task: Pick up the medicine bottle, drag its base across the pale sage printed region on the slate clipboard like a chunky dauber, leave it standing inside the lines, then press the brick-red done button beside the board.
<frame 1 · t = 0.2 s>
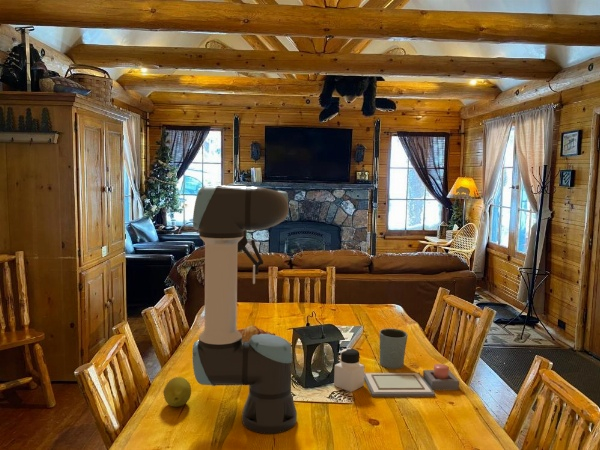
hand: (235, 282, 180), 28 cm above the table, fingers open, 13 cm apart
grey cylindrical container: (392, 365, 178), on the table
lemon: (177, 406, 142), on the table
done button: (441, 372, 161), point 4 cm above the table, slide at 0.0 cm
button housing: (440, 384, 162), on the table
picture board: (396, 385, 160), on the table
croissant: (249, 342, 199), on the table
medicine bottle: (348, 386, 159), on the table
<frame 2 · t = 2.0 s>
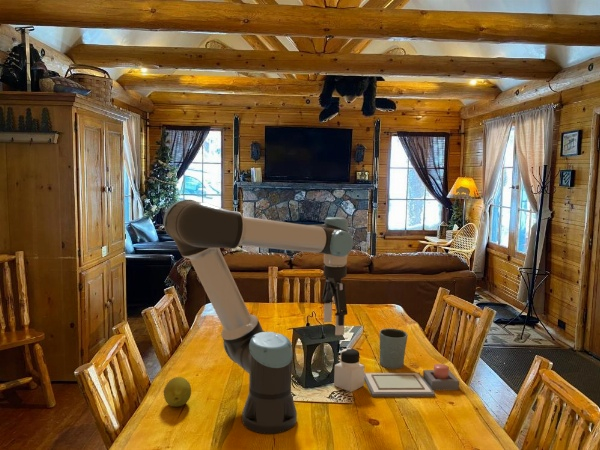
hand: (333, 328, 160), 18 cm above the table, fingers open, 13 cm apart
nothing on the table moved.
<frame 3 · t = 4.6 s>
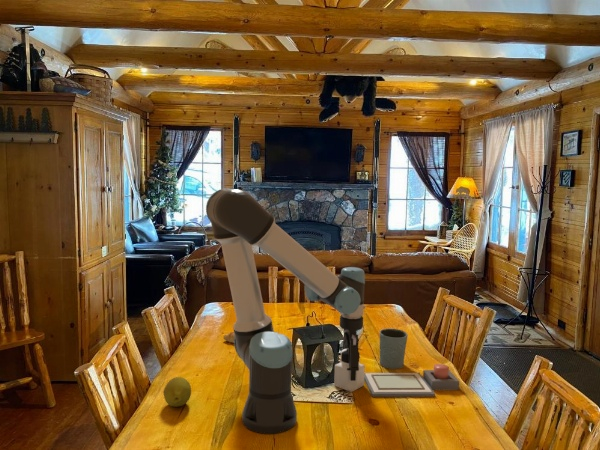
hand: (349, 382, 158), 1 cm above the table, fingers closed on medicine bottle, 10 cm apart
medicine bottle: (349, 386, 159), on the table, touching gripper
everything else where it was.
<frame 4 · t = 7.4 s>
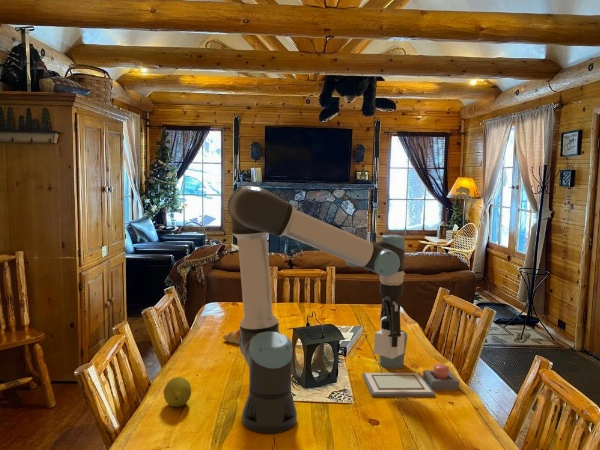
hand: (389, 350, 158), 12 cm above the table, fingers closed on medicine bottle, 10 cm apart
medicine bottle: (388, 354, 158), point 11 cm above the table, touching gripper
everything else where it was.
when the fingers open (3 cm above the table, at t = 10.5 s): medicine bottle stays where it is, resting on picture board.
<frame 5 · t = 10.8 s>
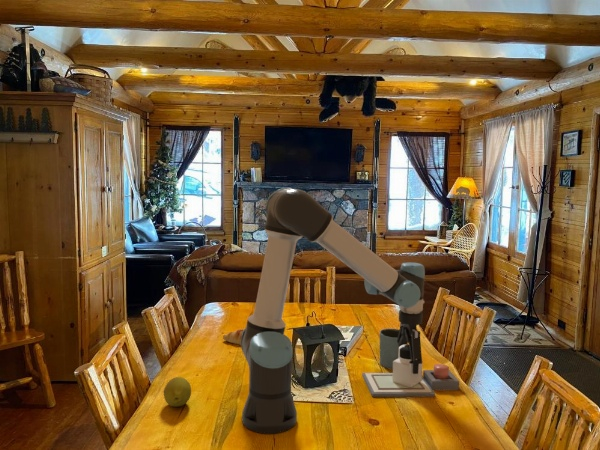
hand: (407, 373, 159), 4 cm above the table, fingers open, 13 cm apart
medicine bottle: (407, 382, 160), point 1 cm above the table, touching picture board
everything else where it was.
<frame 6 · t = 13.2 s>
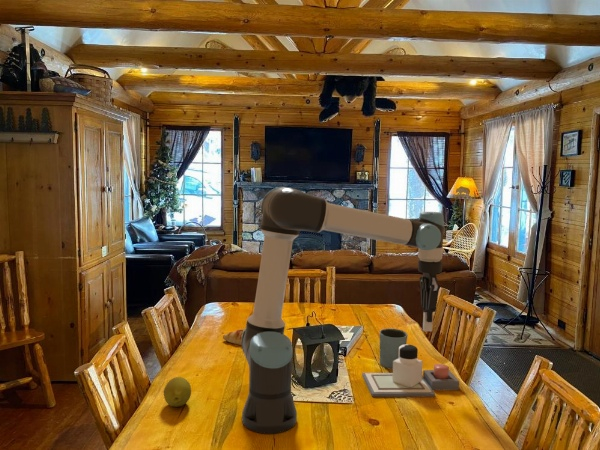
hand: (427, 330, 159), 19 cm above the table, fingers closed
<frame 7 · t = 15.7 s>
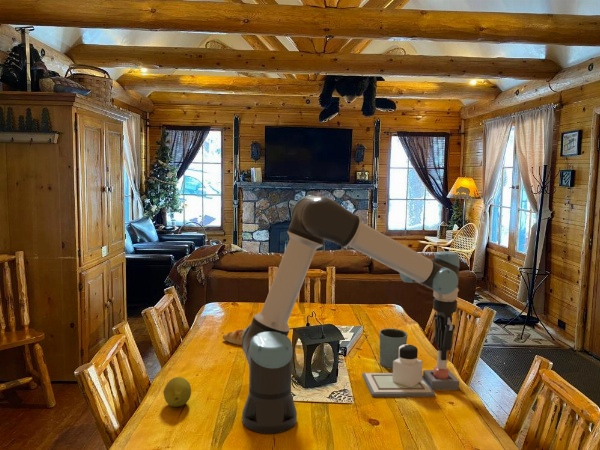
hand: (441, 368, 161), 6 cm above the table, fingers closed
done button: (440, 374, 161), point 3 cm above the table, slide at 0.7 cm, touching gripper
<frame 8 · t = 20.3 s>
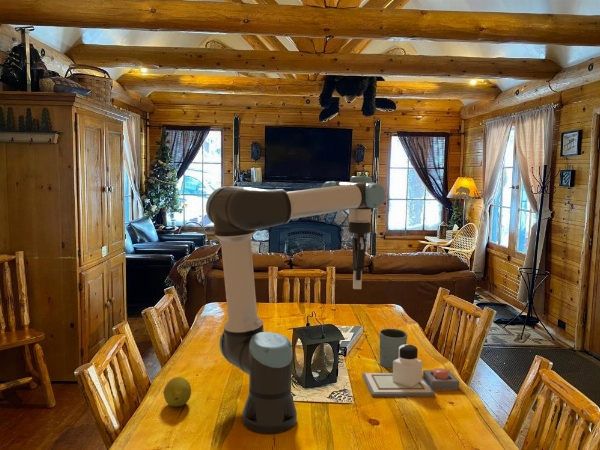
hand: (357, 288, 169), 29 cm above the table, fingers closed
done button: (440, 376, 161), point 3 cm above the table, slide at 1.4 cm
at the end: done button slide at 1.4 cm; medicine bottle inside the target area on the picture board (3.4 cm from its centre), point 1.2 cm above the picture board's base; medicine bottle tilted 1° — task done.
